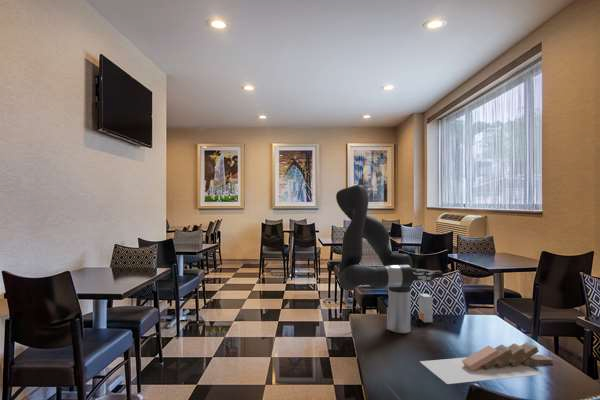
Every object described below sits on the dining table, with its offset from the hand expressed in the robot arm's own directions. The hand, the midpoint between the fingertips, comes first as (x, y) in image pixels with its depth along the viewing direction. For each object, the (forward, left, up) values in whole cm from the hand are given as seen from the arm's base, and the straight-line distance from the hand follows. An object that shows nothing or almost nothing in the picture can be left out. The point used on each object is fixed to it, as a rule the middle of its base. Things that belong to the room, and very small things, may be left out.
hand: (441, 273), depth 128 cm
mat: (+12, -2, -30) cm, 32 cm away
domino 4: (+23, +9, -28) cm, 38 cm away
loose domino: (+9, -5, -28) cm, 30 cm away
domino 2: (+16, +2, -28) cm, 33 cm away
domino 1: (+13, -1, -28) cm, 31 cm away
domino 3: (+20, +6, -28) cm, 35 cm away
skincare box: (-16, +41, -30) cm, 53 cm away
